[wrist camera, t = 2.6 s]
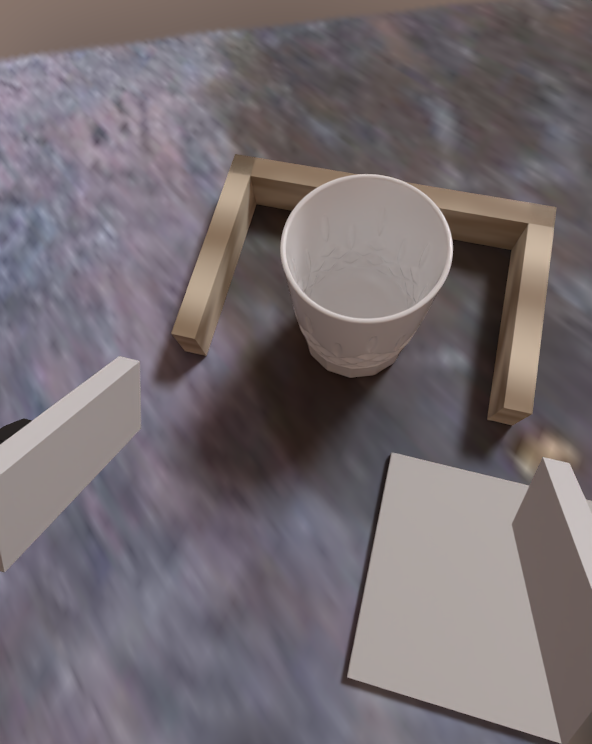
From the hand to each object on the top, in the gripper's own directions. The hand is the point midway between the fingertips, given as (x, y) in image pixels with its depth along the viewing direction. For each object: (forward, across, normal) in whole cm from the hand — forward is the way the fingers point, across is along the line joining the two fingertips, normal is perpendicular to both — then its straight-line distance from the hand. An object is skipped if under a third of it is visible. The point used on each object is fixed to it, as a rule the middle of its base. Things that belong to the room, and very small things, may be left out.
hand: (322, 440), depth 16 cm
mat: (+7, +9, -12) cm, 17 cm away
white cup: (+17, 0, -3) cm, 17 cm away
